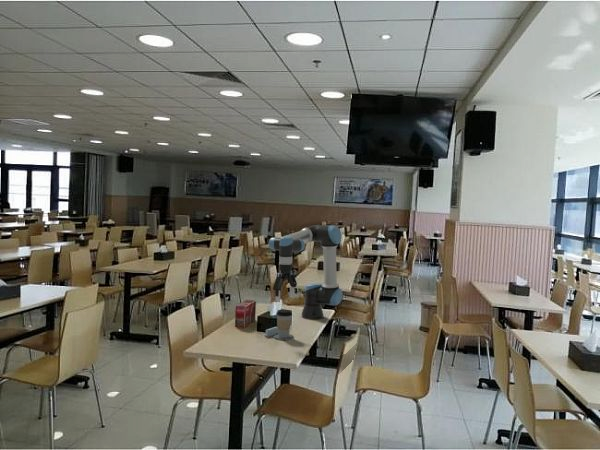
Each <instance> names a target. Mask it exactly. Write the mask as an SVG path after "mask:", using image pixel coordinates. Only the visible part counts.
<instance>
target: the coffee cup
mask: <svg viewBox="0 0 600 450" xmlns="http://www.w3.org/2000/svg"><path fill="white" fill-rule="evenodd" d="M275 314H276V321H277V322H276V323H277V324H276V325H277V326H278V333H277V334H278V336H279V337H281V338H286V337H289V334H290V329H291V322H292V316H293V312H292V310H291V309H278V310H277V311H276V312H275Z"/></svg>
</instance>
